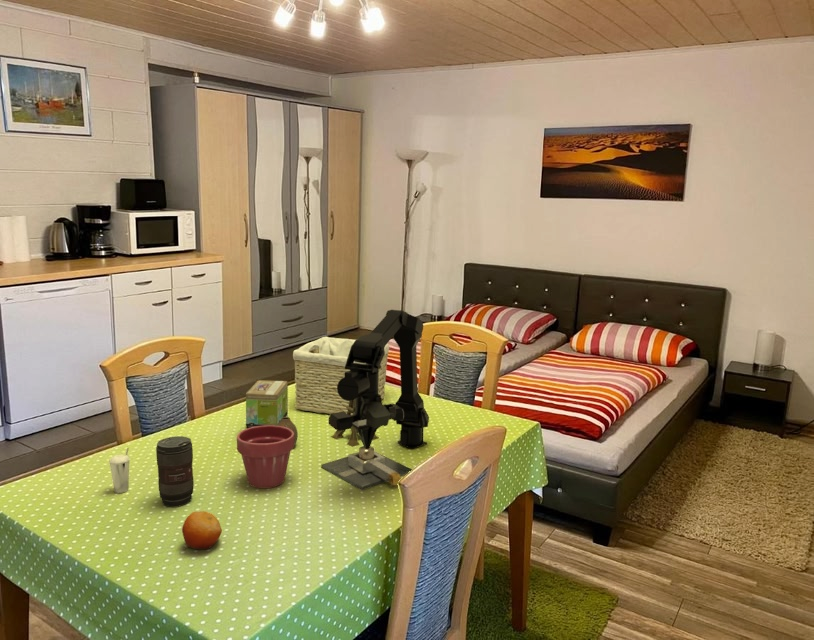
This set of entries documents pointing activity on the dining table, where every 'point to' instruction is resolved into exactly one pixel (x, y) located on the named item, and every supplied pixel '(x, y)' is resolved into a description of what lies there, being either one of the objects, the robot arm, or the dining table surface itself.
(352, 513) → the dining table surface
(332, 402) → the basket
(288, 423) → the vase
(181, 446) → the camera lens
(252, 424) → the tea box
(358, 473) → the post base
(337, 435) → the eiffel tower
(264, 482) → the plant pot
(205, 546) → the fruit
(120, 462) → the milkshake
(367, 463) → the square nut with handle
